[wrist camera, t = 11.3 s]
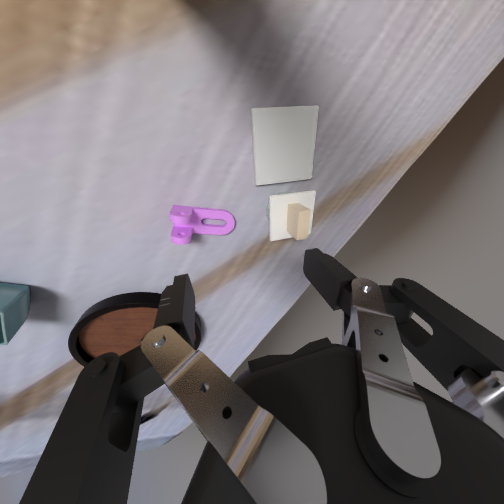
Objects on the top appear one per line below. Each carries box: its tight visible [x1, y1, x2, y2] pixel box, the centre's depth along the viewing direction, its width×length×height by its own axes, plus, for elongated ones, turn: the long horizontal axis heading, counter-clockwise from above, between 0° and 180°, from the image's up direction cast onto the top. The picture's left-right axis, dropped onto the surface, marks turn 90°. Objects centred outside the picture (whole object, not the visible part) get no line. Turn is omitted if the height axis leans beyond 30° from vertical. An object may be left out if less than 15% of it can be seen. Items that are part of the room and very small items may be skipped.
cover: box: [269, 190, 316, 241], centre depth 37 cm, size 10×10×6 cm
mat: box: [251, 105, 319, 186], centre depth 36 cm, size 13×13×1 cm
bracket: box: [170, 205, 235, 244], centre depth 37 cm, size 13×6×7 cm, turn 80°
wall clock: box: [68, 292, 201, 367], centre depth 51 cm, size 31×4×31 cm
